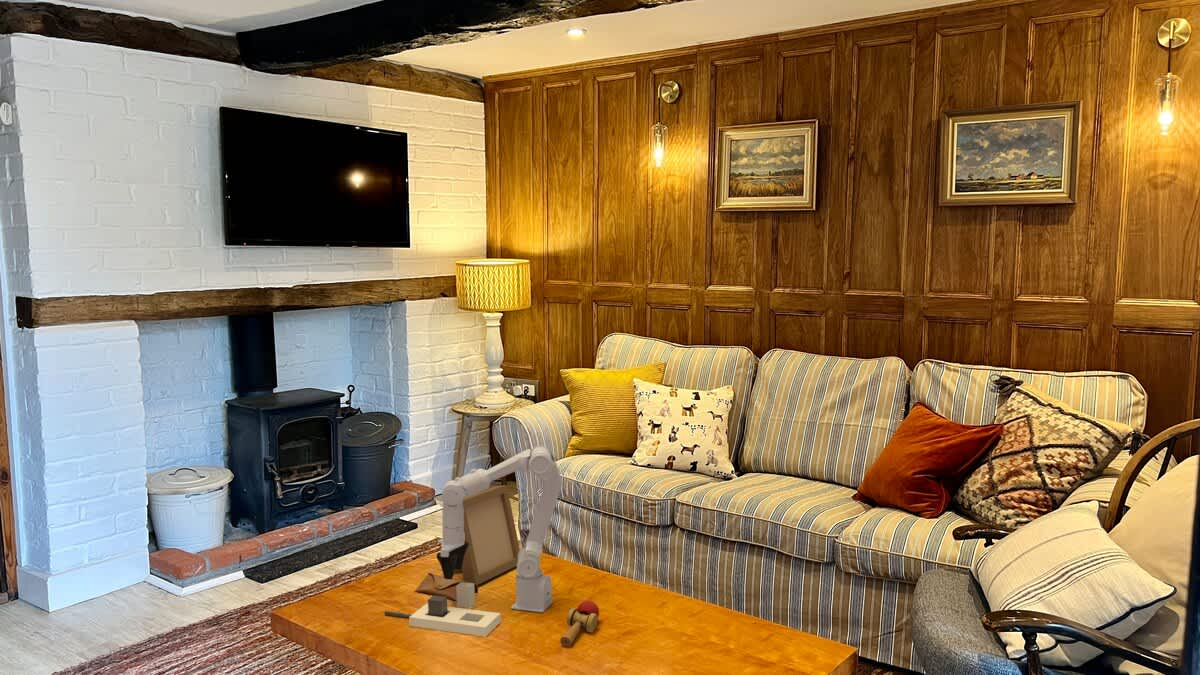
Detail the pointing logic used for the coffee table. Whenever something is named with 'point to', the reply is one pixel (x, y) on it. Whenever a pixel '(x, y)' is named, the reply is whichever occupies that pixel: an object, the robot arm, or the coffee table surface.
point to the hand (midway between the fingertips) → (453, 573)
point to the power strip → (451, 618)
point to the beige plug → (465, 594)
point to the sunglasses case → (440, 586)
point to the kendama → (580, 621)
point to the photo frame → (489, 535)
